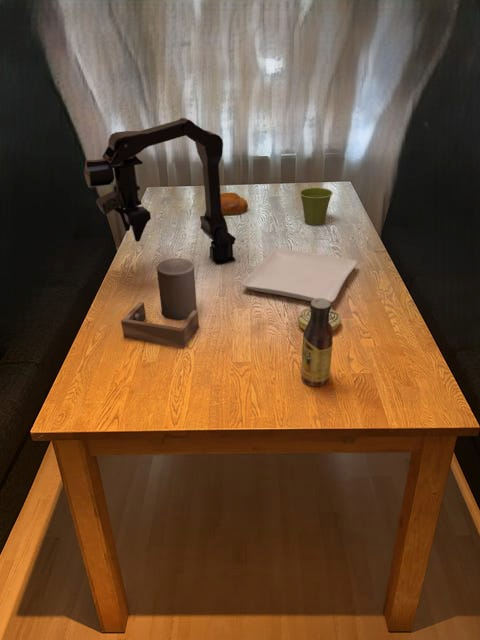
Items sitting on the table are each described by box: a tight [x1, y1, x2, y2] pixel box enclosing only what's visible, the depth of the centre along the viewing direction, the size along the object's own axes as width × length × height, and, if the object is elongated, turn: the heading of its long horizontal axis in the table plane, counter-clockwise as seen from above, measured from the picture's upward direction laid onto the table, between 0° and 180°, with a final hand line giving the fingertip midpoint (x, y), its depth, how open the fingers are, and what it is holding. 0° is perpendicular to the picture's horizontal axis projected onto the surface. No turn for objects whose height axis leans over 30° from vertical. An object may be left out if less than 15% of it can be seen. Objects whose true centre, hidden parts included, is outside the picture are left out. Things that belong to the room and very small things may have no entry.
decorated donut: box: [297, 307, 342, 333], centre depth 134 cm, size 10×11×4 cm
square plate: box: [241, 248, 359, 304], centre depth 155 cm, size 27×27×4 cm
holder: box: [120, 301, 200, 349], centre depth 133 cm, size 10×16×5 cm, turn 71°
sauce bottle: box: [300, 298, 334, 387], centre depth 111 cm, size 7×6×20 cm
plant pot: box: [298, 187, 334, 226], centre depth 192 cm, size 12×12×11 cm
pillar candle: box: [156, 257, 198, 321], centre depth 139 cm, size 10×10×15 cm
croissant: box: [220, 192, 249, 216], centre depth 207 cm, size 14×16×8 cm
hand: (132, 235), depth 151 cm, fingers open, 9 cm apart
